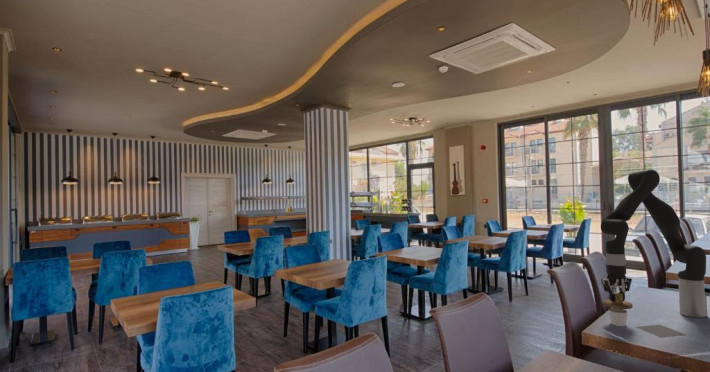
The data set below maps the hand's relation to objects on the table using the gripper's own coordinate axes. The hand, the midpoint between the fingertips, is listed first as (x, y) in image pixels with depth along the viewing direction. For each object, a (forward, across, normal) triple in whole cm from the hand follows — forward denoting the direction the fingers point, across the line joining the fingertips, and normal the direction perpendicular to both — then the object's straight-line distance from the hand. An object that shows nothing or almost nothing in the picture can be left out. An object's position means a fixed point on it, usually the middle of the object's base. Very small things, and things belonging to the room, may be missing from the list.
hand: (617, 300), depth 172 cm
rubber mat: (+11, -10, +11) cm, 19 cm away
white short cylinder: (+11, 0, 0) cm, 11 cm away
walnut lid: (+2, 0, 0) cm, 2 cm away
